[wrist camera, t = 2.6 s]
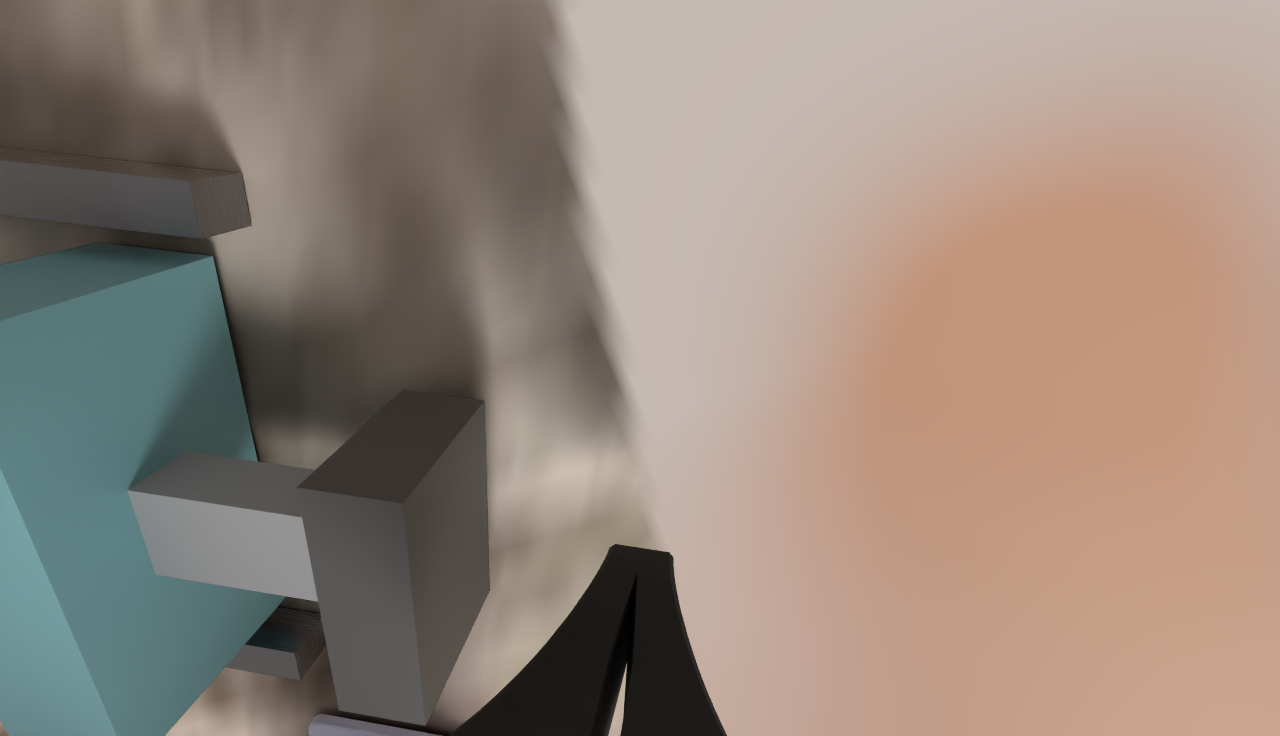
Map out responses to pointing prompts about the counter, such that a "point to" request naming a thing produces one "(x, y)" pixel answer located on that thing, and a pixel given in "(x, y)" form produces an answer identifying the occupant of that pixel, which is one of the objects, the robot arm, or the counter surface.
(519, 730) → the robot arm
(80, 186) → the vise
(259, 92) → the counter surface
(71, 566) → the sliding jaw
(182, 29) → the counter surface
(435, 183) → the counter surface
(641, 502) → the counter surface
